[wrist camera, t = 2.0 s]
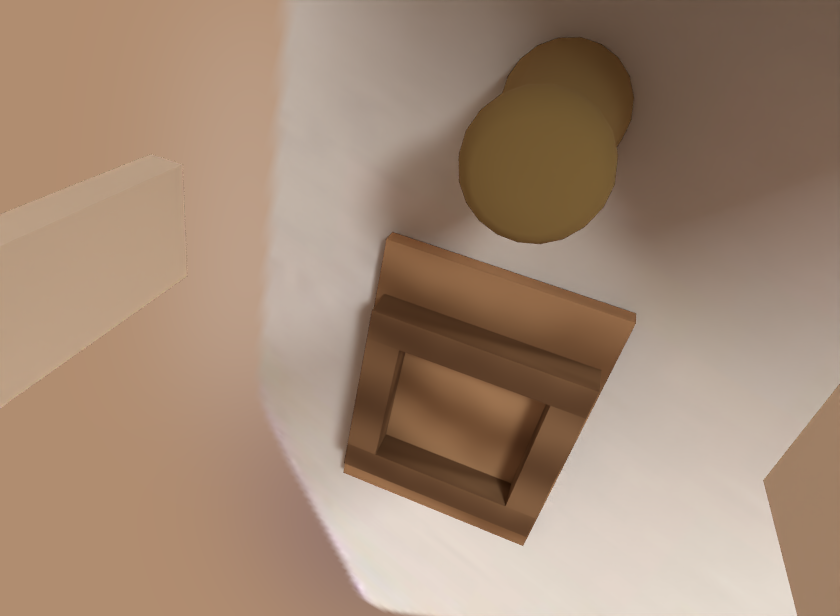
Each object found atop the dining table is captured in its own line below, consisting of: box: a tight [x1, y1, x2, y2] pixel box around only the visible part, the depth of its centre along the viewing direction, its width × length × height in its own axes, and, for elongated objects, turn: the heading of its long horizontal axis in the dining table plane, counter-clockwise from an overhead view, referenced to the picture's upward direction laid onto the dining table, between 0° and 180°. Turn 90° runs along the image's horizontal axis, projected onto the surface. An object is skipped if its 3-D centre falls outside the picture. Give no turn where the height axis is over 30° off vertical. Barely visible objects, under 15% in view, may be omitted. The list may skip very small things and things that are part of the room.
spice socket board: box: [343, 232, 636, 546], centre depth 36 cm, size 20×14×3 cm
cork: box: [459, 37, 634, 244], centre depth 22 cm, size 6×6×11 cm
